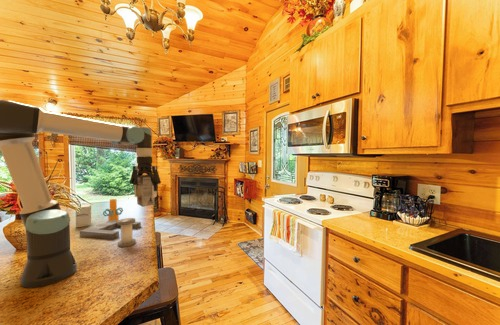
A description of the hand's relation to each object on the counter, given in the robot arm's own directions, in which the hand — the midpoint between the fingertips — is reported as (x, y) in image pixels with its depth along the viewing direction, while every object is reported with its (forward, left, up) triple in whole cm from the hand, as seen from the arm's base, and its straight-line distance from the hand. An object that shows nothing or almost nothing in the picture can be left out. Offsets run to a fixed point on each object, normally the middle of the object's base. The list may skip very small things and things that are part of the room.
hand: (145, 196), depth 117 cm
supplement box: (+10, +55, -23) cm, 60 cm away
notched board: (+4, +27, -22) cm, 35 cm away
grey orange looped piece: (+21, +43, -22) cm, 53 cm away
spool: (-10, +4, -22) cm, 25 cm away
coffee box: (0, 0, -5) cm, 5 cm away
